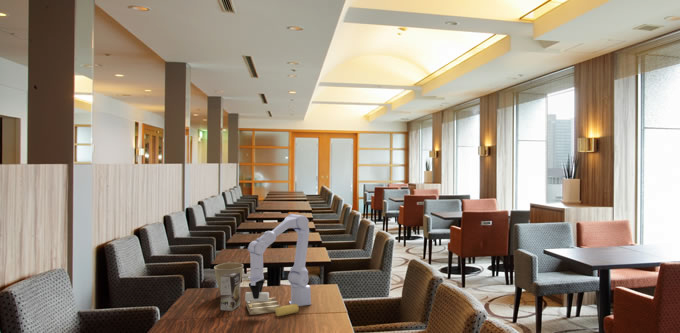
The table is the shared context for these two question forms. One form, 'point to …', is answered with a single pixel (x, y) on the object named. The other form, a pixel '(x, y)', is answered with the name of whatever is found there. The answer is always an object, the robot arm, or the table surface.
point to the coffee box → (230, 291)
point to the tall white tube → (262, 297)
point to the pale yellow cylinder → (286, 310)
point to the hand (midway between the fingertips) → (257, 297)
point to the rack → (262, 306)
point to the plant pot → (226, 268)
